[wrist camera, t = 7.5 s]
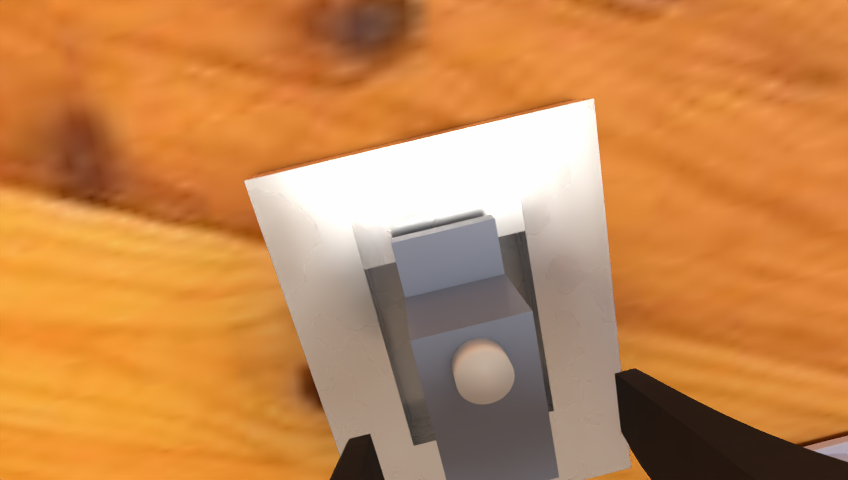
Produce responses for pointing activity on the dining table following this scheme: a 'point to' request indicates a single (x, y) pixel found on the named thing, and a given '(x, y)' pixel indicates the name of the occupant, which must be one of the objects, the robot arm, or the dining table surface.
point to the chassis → (433, 207)
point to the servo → (475, 354)
